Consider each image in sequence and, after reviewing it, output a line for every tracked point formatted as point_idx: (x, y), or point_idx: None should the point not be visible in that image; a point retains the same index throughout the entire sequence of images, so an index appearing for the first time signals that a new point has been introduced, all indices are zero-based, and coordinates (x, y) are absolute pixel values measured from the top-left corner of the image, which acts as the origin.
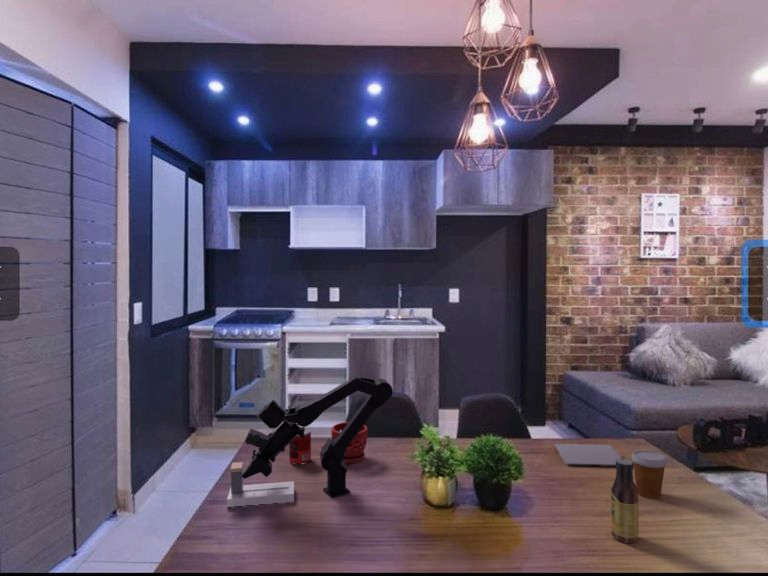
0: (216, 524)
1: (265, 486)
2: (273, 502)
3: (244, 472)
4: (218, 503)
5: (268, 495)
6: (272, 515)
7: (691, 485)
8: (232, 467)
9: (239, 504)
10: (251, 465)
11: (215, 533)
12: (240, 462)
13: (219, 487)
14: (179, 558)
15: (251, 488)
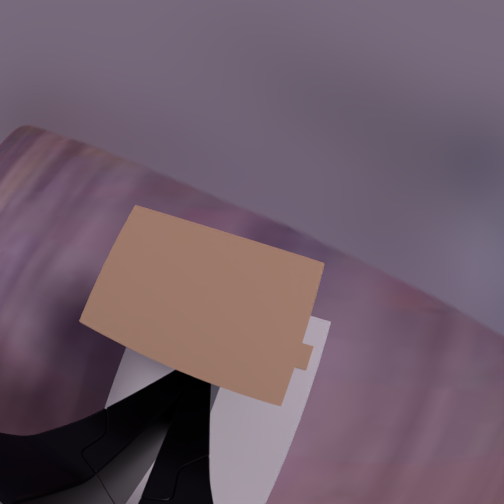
0: (75, 219)
1: (217, 500)
2: None
3: (189, 387)
4: None
5: None
6: (24, 412)
7: None
8: (154, 229)
9: None
10: (56, 433)
11: (36, 210)
12: (278, 363)
13: (418, 289)
14: (21, 140)
15: (231, 428)
